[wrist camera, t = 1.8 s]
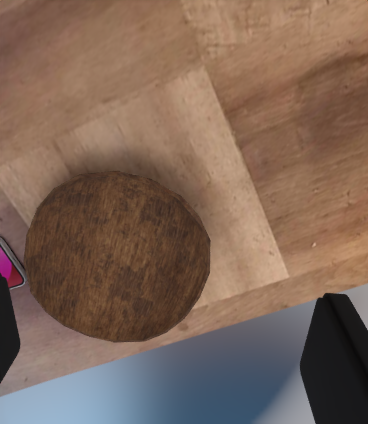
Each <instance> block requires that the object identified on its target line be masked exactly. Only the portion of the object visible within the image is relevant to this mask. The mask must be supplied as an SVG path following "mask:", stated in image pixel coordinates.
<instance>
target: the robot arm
mask: <svg viewBox="0 0 368 424" xmlns="http://www.w3.org/2000/svg"><path fill="white" fill-rule="evenodd" d="M19 349H20V338H19V333H18V329H17V324H16V319H15V315H14V310H13V306H12V301H11V296H10V292H9V287H8V282H7V279H6V278H5V277H3V276H2V275H1V273H0V383H1V381H2V380H3V378H4V376H5V375H6V373H7V371H8V370H9V368H10V366H11V365H12V363H13V361H14V360H15V358H16V356H17V354H18V352H19ZM300 371H301V376H302V380H303V383H304V386H305V390H306V393H307V396H308V400H309V403H310V407H311V410H312V413H313V416H314V420H315V423H316V424H368V330H367V328H366V327H365V325H364V323H363V321H362V320H361V318H360V316H359V314H358V313H357V311H356V309H355V307H354V306H353V304H352V302H351V301H350V299H349V297H348V296H347V295H345V294H334V293H325V294H324V296H323V298H318V299H317V302H316V305H315V309H314V313H313V316H312V320H311V324H310V327H309V331H308V335H307V339H306V342H305V346H304V350H303V354H302V358H301V361H300Z"/></svg>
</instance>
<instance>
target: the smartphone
mask: <svg viewBox="0 0 368 424" xmlns="http://www.w3.org/2000/svg"><path fill="white" fill-rule="evenodd" d="M0 273H1V275H2V276H3V277H5V278H6V279H7V282H8V287H9V290H10V289H13V288H16V287H19V286H22V285H24V283H25V282H26V281H27V275H26V272H25V270H24V269H23V267H22V266H21V265H20V263H19V262H18V260H17V259H16V257H15V256H14V254H13V253H12V251H11V250H10V248H9V247H8V246H7V244H6V243H5V241H4V240H3V239H2V238H1V237H0Z"/></svg>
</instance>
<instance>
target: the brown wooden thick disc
mask: <svg viewBox="0 0 368 424" xmlns="http://www.w3.org/2000/svg"><path fill="white" fill-rule="evenodd" d="M24 267H25V271H26V275H27V279H28V283H29V287H30V291H31V294H32V295H33V296H34V297H35V299H36V300H37V301H38V303H39V304H40V305H41V306H42V308H43V309H44V310H45V312H46V313H48V314H49V315H50V316H52V317H53V318H54V319H56V320H57V321H58V322H60V323H61V324H62V325H64V326H66V327H68V328H70V329H73V330H75V331H77V332H80V333H82V334H84V335H87V336H89V337H93V338H98V339H102V340H106V341H111V342H142V341H147V340H149V339H152V338H154V337H157V336H159V335H161V334H164V333H166V332H168V331H169V330H170V329H172V328H173V327H174V326H176V325H177V324H178V323H179V322H181V321H182V320H183V319H184V318H185V317H186V316H187V314H188V313H189V312H190V310H191V309H192V307H193V306H194V305H195V303H196V302H197V301H198V299H199V298H200V296H201V293H202V291H203V288H204V286H205V283H206V281H207V278H208V276H209V273H210V239H209V237H208V234H207V232H206V230H205V228H204V226H203V224H202V222H201V220H200V217H199V216H198V215H197V213H196V212H195V211H194V210H193V209H192V208H191V207H190V206H189V205H188V204H187V202H186V201H185V200H184V199H183V198H182V197H181V196H180V195H178V194H176V193H174V192H173V191H171V190H169V189H167V188H166V187H164V186H162V185H160V184H159V183H157V182H155V181H153V180H151V179H148V178H144V177H140V176H136V175H132V174H128V173H124V172H120V171H112V172H101V173H91V174H81V175H78V176H76V177H74V178H72V179H70V180H69V181H67V182H65V183H63V184H61V185H60V186H58V187H56V188H54V189H53V190H52V191H51V193H50V194H49V195H48V196H47V197H46V199H45V200H44V201H43V202H42V203H41V205H40V206H39V207H38V208H37V210H36V213H35V215H34V218H33V220H32V223H31V225H30V228H29V230H28V233H27V235H26V245H25V254H24Z"/></svg>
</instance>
